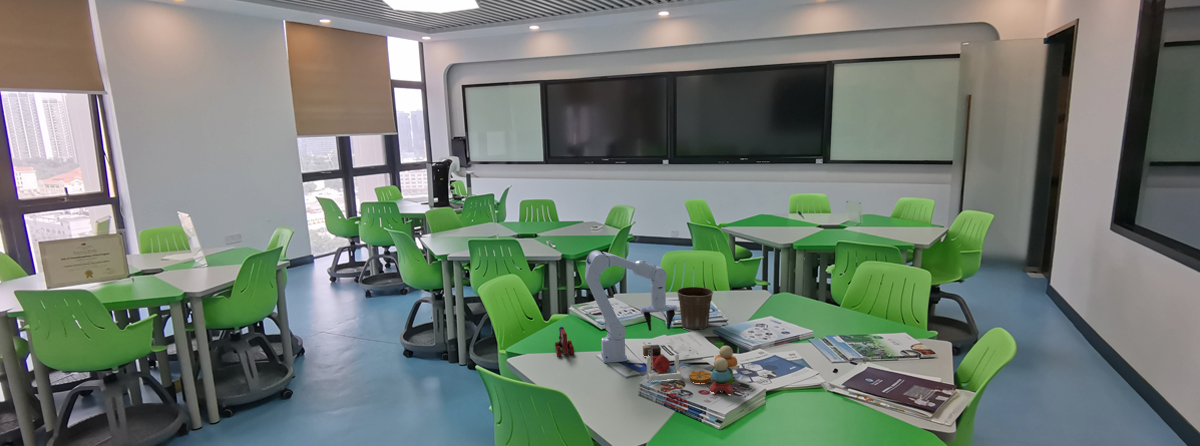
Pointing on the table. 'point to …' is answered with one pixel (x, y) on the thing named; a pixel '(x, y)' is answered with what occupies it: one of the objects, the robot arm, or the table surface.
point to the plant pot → (695, 306)
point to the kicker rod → (654, 353)
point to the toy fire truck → (563, 344)
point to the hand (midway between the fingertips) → (659, 329)
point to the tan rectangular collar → (646, 349)
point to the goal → (663, 376)
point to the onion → (662, 364)
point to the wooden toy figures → (718, 372)
